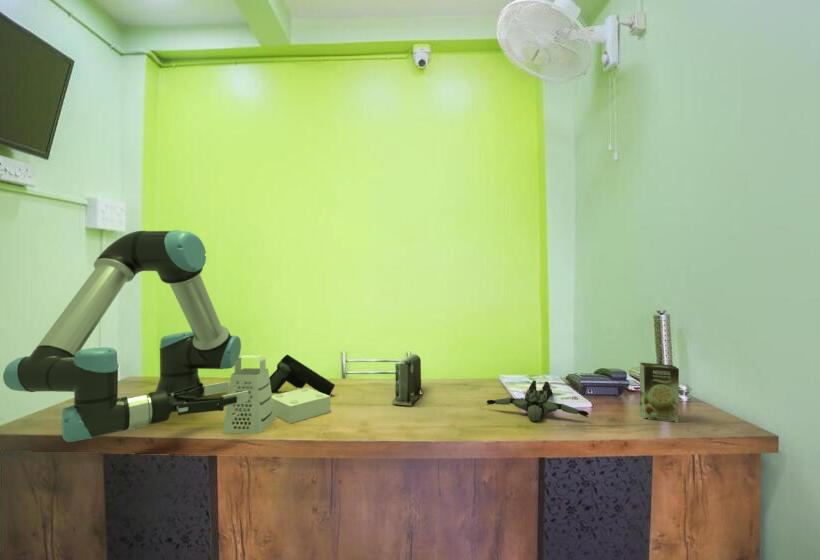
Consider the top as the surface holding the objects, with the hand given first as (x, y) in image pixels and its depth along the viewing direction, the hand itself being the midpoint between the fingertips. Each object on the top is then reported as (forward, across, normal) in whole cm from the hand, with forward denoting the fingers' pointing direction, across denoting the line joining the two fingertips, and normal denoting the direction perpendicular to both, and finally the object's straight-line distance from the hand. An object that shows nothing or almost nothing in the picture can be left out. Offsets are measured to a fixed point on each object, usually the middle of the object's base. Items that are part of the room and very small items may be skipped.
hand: (237, 390), depth 108 cm
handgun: (+30, -19, -11) cm, 37 cm away
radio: (+56, +13, -11) cm, 58 cm away
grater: (+4, 0, -11) cm, 12 cm away
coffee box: (+94, +83, -11) cm, 126 cm away
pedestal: (+20, -1, -11) cm, 23 cm away
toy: (+77, +52, -11) cm, 93 cm away
